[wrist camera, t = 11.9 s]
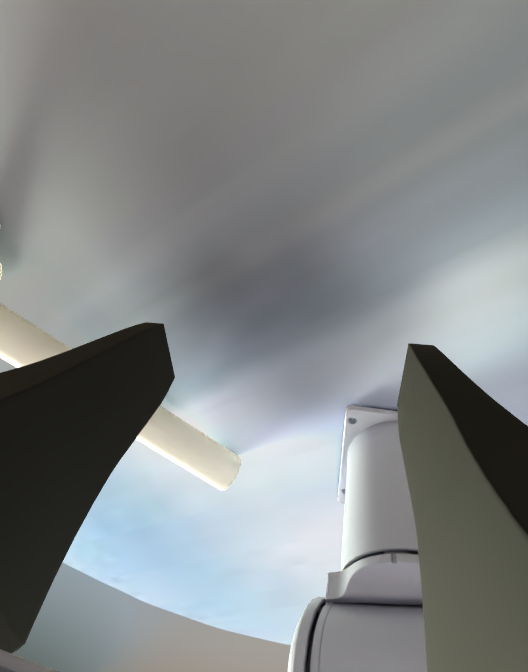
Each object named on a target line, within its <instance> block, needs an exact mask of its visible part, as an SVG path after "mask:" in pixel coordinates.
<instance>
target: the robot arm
mask: <svg viewBox="0 0 528 672" xmlns="http://www.w3.org/2000/svg"><path fill="white" fill-rule="evenodd" d="M174 378H175V376H174V371H173V366H172V362H171V357H170V352H169V347H168V343H167V338H166V333H165V329H164V324H159V323H147V322H146V323H142V324H138V325H135V326H132V327H129V328H126V329H123V330H120V331H118V332H115V333H113V334H110V335H107V336H105V337H102V338H100V339H97V340H95V341H92V342H90V343H87V344H84V345H82V346H79V347H77V348H74V349H71V350H68V351H66V352H63V353H60V354H57V355H55V356H52V357H49V358H46V359H44V360H41V361H38V362H35V363H32V364H29V365H26V366H22V367H19V368H16V369H12V370H9V371H5V372H2V373H0V672H59V671H56V670H54V669H51V668H48V667H46V666H43V665H40V664H38V663H35V662H32V661H30V660H27V659H25V658H22V657H19V656H17V655H14V654H11V653H13V652H14V651H16V650H18V649H19V648H20V647H21V646H23V645H24V644H25V642H26V640H27V638H28V635H29V633H30V631H31V628H32V626H33V624H34V621H35V619H36V617H37V615H38V613H39V610H40V608H41V606H42V604H43V602H44V600H45V597H46V595H47V593H48V591H49V589H50V586H51V584H52V582H53V580H54V578H55V576H56V574H57V572H58V570H59V568H60V566H61V563H62V562H63V560H64V558H65V556H66V554H67V552H68V550H69V548H70V546H71V544H72V542H73V540H74V538H75V536H76V534H77V532H78V530H79V529H80V527H81V525H82V523H83V521H84V519H85V518H86V516H87V514H88V512H89V510H90V508H91V506H92V505H93V503H94V501H95V500H96V498H97V496H98V494H99V493H100V491H101V489H102V488H103V486H104V484H105V483H106V481H107V479H108V477H109V476H110V474H111V473H112V471H113V470H114V468H115V467H116V465H117V464H118V462H119V461H120V459H121V458H122V457H123V455H124V454H125V452H126V451H127V450H128V448H129V447H130V446H131V444H132V443H133V442H134V440H135V439H136V437H137V436H138V435H139V433H140V432H141V431H142V429H143V428H144V427H145V425H146V424H147V423H148V421H149V420H150V418H151V417H152V416H153V414H154V413H155V411H156V410H157V409H158V407H159V406H160V404H161V403H162V401H163V399H164V397H165V396H166V394H167V392H168V390H169V388H170V386H171V384H172V382H173V380H174ZM397 407H398V411H391V410H383V409H375V408H368V407H360V406H349V407H348V408H346V413H345V424H344V435H343V445H342V456H341V467H340V478H339V489H338V500H339V501H340V502H341V503H343V504H345V507H344V524H343V541H342V557H341V571H339V572H332V573H328V576H327V587H326V597H317V598H315V599H313V600H312V601H311V602H310V603H309V604H308V605H307V607H306V609H305V611H304V612H303V615H302V617H301V619H300V621H299V623H298V625H297V627H296V630H295V633H294V637H293V640H292V644H291V650H290V656H289V663H288V672H528V426H527V425H525V424H524V423H523V422H521V421H520V420H519V419H517V418H516V417H515V416H514V415H512V414H511V413H510V412H509V411H507V410H506V409H505V408H503V407H502V406H501V405H500V404H498V403H497V402H496V401H495V400H494V399H492V398H491V397H490V396H489V395H488V394H486V393H485V392H484V391H483V390H482V389H481V388H480V387H478V386H477V385H476V384H475V383H474V382H473V381H472V380H471V379H470V378H468V377H467V376H466V375H465V374H464V373H463V372H462V371H461V370H460V369H459V368H458V367H457V366H456V365H454V364H453V363H452V362H451V361H450V360H449V359H448V358H447V357H446V356H445V355H444V354H443V353H442V352H441V351H440V350H438V349H437V348H436V347H435V346H433V345H421V344H408V350H407V355H406V360H405V366H404V371H403V376H402V382H401V387H400V393H399V398H398V403H397ZM350 418H355V420H351V419H350Z"/></svg>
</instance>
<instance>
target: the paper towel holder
mask: <svg viewBox="0 0 528 672" xmlns="http://www.w3.org/2000/svg"><path fill="white" fill-rule="evenodd" d="M0 227H1V224H0ZM1 276H2V265H1V263H0V280H1ZM68 350H71V348H70V347H68V346H67V345H65V344H64V343H62V342H61V341H59V340H57V339H56V338H54V337H53V336H51V335H50V334H48V333H47V332H45V331H43V330H42V329H40V328H39V327H37V326H36V325H34V324H33V323H31V322H29V321H28V320H26V319H25V318H23V317H22V316H20V315H19V314H17V313H15V312H14V311H12V310H11V309H9V308H8V307H6V306H5V305H3V304H1V303H0V358H2V359H4V360H5V361H7V362H9V363H10V364H12V365H14V366H15V367H17V368H19V367H22V366H26V365H29V364H32V363H35V362H38V361H41V360H44V359H46V358H49V357H52V356H55V355H57V354H60V353H63V352H66V351H68ZM136 440H138V441H140V442H141V443H143V444H145V445H146V446H148V447H150V448H151V449H153V450H154V451H156V452H158V453H159V454H161V455H163V456H164V457H166V458H168V459H169V460H171V461H173V462H174V463H176V464H178V465H179V466H181V467H183V468H184V469H186V470H188V471H189V472H191V473H193V474H194V475H196V476H198V477H199V478H201V479H203V480H204V481H206V482H208V483H209V484H211V485H213V486H214V487H216V488H217V489H219V490H221V491H223V490H225V489H227V488H228V487H229V486H230V485H231V484H232V482H233V481H234V479H235V478H236V476H237V474H238V472H239V469H240V466H241V458H240V457H239V456H238V455H236V454H235V453H233V452H232V451H230V450H228V449H227V448H225V447H224V446H222V445H221V444H219V443H218V442H216V441H214V440H213V439H211V438H210V437H208V436H207V435H205V434H204V433H202V432H200V431H199V430H197V429H196V428H194V427H193V426H191V425H190V424H188V423H186V422H185V421H183V420H182V419H180V418H179V417H177V416H176V415H174V414H172V413H171V412H169V411H168V410H166V409H165V408H163V407H162V406H159V407H158V409H157V410H156V411H155V413H154V414H153V416H152V417H151V418H150V420H149V421H148V423H147V424H146V425H145V427H144V428H143V429H142V431H141V432H140V433H139V435H138V436H137V437H136Z"/></svg>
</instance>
